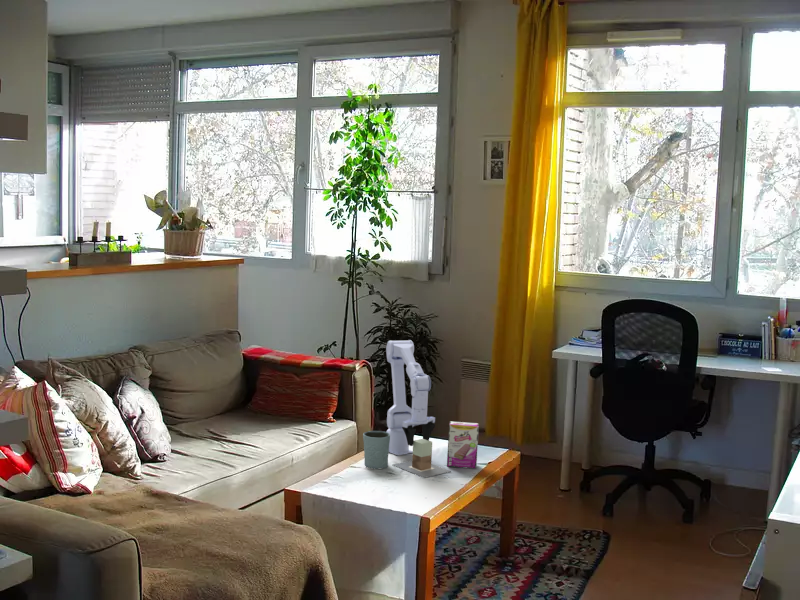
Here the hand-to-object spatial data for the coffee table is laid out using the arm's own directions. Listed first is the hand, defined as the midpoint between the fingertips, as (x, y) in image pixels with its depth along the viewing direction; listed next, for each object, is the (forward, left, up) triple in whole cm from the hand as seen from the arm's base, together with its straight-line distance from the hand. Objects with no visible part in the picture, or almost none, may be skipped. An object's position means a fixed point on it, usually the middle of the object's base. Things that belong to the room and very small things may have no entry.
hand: (418, 443), depth 316 cm
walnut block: (+3, 0, -8) cm, 9 cm away
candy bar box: (+9, +15, -9) cm, 19 cm away
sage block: (+3, 0, -3) cm, 4 cm away
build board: (+3, 0, -9) cm, 9 cm away
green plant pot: (-10, -12, -9) cm, 18 cm away
